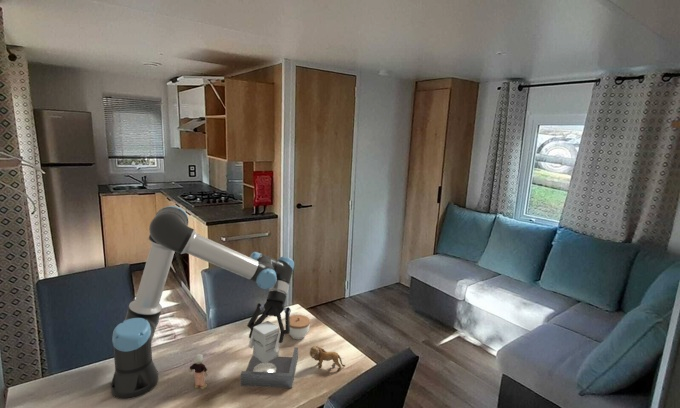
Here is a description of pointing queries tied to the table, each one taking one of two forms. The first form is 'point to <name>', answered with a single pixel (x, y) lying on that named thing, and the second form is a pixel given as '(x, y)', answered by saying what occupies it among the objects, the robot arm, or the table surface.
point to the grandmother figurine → (199, 371)
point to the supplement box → (265, 341)
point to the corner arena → (271, 372)
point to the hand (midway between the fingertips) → (263, 349)
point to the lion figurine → (325, 356)
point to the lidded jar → (299, 326)
